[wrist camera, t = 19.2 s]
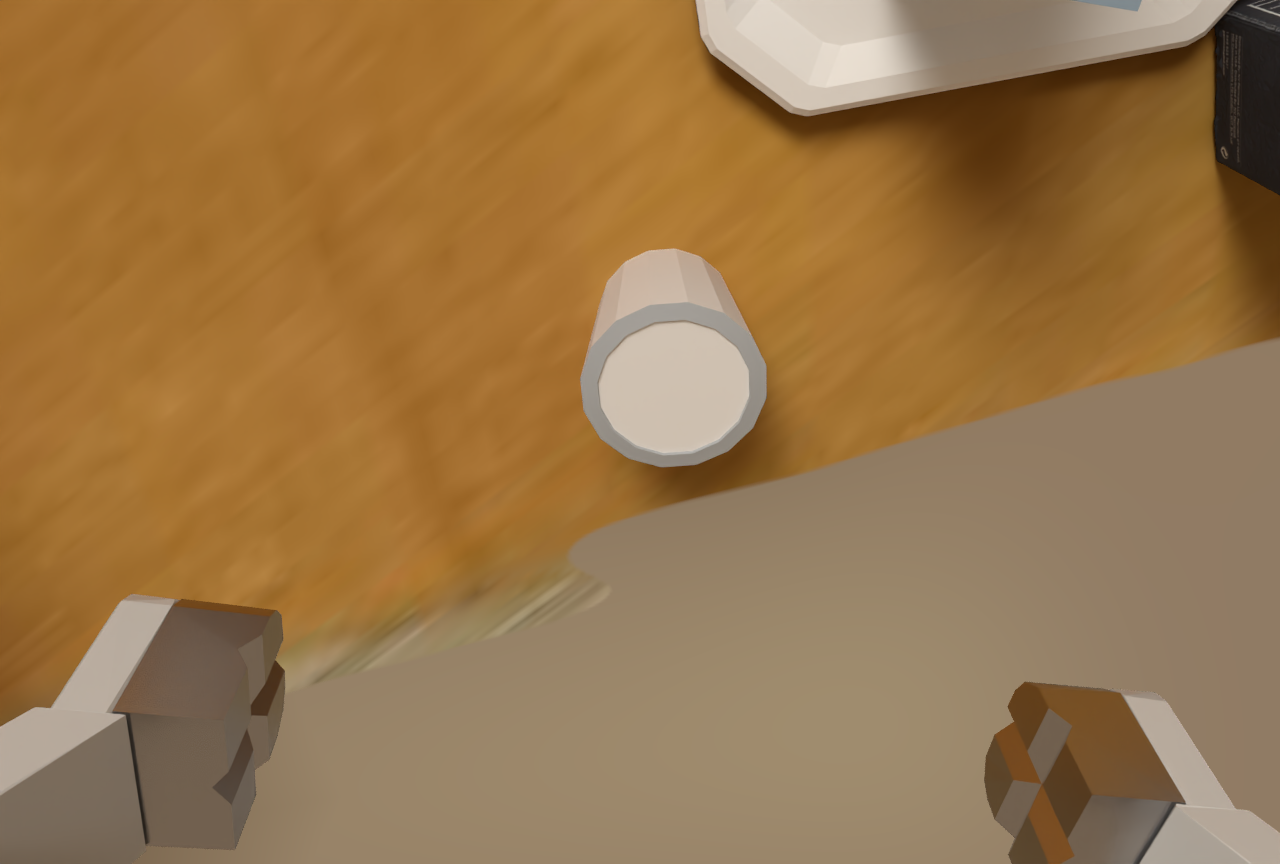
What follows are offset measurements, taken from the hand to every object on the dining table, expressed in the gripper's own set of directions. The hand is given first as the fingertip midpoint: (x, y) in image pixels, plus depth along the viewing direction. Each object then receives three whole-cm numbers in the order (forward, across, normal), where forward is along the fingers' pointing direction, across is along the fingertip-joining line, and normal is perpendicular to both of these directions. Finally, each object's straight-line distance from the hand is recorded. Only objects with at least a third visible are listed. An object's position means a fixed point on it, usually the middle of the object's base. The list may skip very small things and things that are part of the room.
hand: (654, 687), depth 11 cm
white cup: (+31, +3, -9) cm, 33 cm away
